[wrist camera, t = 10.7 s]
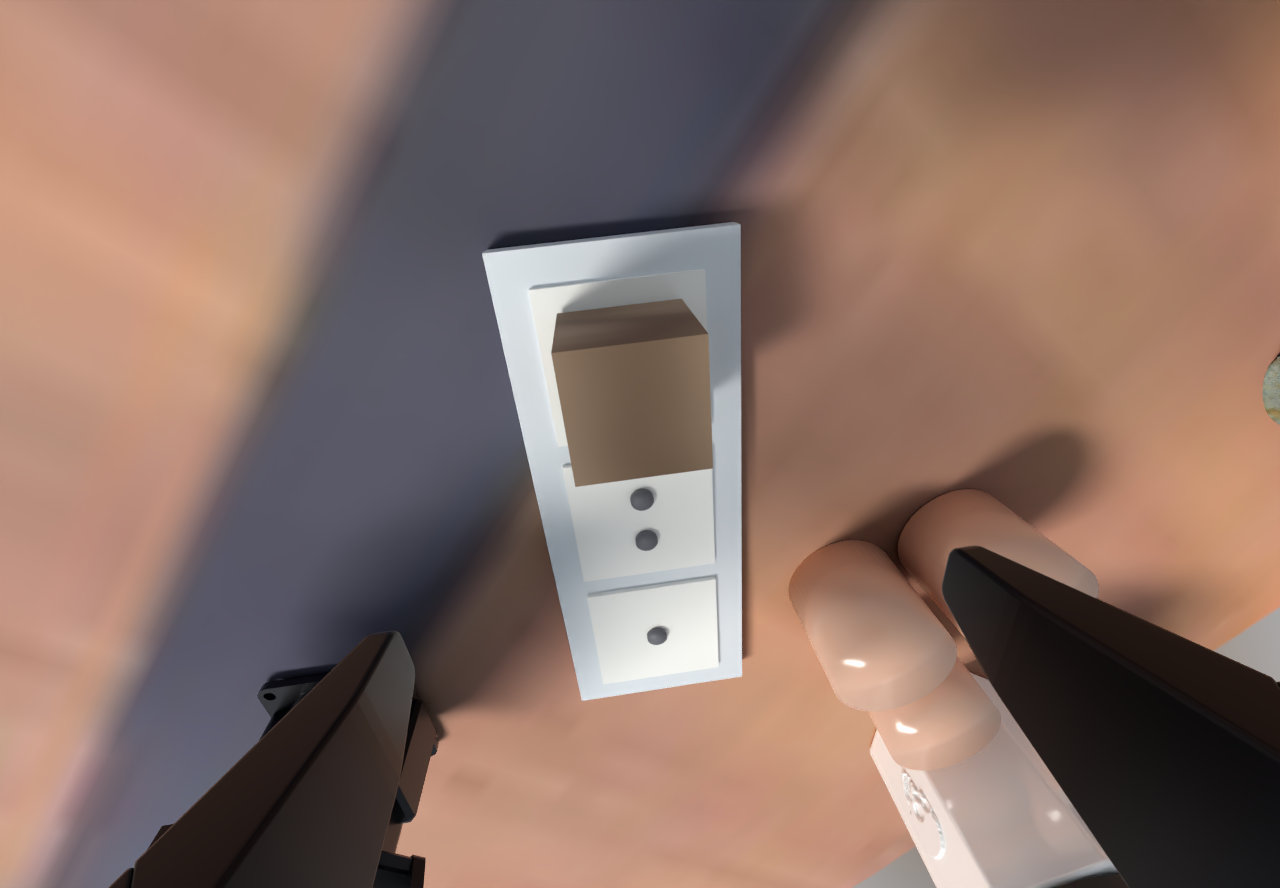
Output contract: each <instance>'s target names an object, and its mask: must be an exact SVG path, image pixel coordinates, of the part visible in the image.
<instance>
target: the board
mask: <svg viewBox="0 0 1280 888" xmlns="http://www.w3.org/2000/svg"><path fill="white" fill-rule="evenodd" d="M482 255H483V260H484V264H485V269H486V273H487V277H488V282H489V286H490V291H491V295H492V300H493V304H494V309H495V313H496V318H497V322H498V327H499V331H500V336H501V340H502V345H503V349H504V354H505V358H506V363H507V367H508V371H509V376H510V380H511V385H512V389H513V394H514V398H515V403H516V407H517V412H518V416H519V421H520V425H521V430H522V434H523V439H524V443H525V448H526V452H527V457H528V461H529V465H530V470H531V474H532V479H533V483H534V488H535V492H536V497H537V501H538V506H539V510H540V515H541V519H542V524H543V528H544V533H545V537H546V542H547V546H548V551H549V555H550V560H551V564H552V568H553V573H554V577H555V582H556V586H557V591H558V595H559V600H560V604H561V609H562V613H563V618H564V622H565V627H566V631H567V636H568V640H569V645H570V649H571V654H572V658H573V662H574V667H575V671H576V676H577V680H578V685H579V689H580V694H581V698H582V701H584V700H591V699H597V698H604V697H610V696H617V695H623V694H630V693H636V692H643V691H649V690H656V689H663V688H669V687H676V686H682V685H689V684H695V683H702V682H708V681H715V680H721V679H728V678H734V677H741V676H742V518H741V224H738V223H736V222H728V223H719V224H711V225H702V226H693V227H684V228H675V229H666V230H657V231H649V232H640V233H631V234H622V235H613V236H604V237H595V238H586V239H578V240H569V241H560V242H551V243H542V244H533V245H524V246H516V247H507V248H498V249H489V250H485V251H484V252H483V253H482ZM674 299H682V300H683V301H684V302H685V304H686V305H687V306H688V308H689V309H690V310H691V312H692V313H693V314H694V315H695V317H696V318H697V319H698V321H699V322H700V323H701V325H702V326H703V327H704V329H705V330H706V331H707V333H708V334H709V363H710V393H711V423H712V453H713V469H705V470H698V471H690V472H683V473H676V474H668V475H661V476H653V477H646V478H639V479H631V480H624V481H616V482H609V483H601V484H594V485H587V486H579V487H575V482H574V477H573V471H572V466H571V460H570V455H569V449H568V443H567V438H566V432H565V427H564V421H563V416H562V410H561V405H560V399H559V394H558V388H557V382H556V377H555V371H554V366H553V360H552V355H551V351H552V344H553V337H554V330H555V323H556V316H557V313H565V312H574V311H582V310H590V309H599V308H607V307H615V306H624V305H632V304H640V303H649V302H657V301H666V300H674Z"/></svg>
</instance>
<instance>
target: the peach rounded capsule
mask: <svg viewBox="0 0 1280 888" xmlns="http://www.w3.org/2000/svg"><path fill="white" fill-rule="evenodd" d="M789 598H790V601H791V603H792V605H793V607H794V610H795V612H796V614H797V616H798V618H799V620H800V622H801V624H802V626H803V628H804V630H805V632H806V634H807V636H808V638H809V640H810V643H811V645H812V647H813V649H814V651H815V653H816V655H817V657H818V659H819V661H820V663H821V665H822V667H823V669H824V671H825V673H826V676H827V678H828V680H829V682H830V684H831V686H832V688H833V690H834V692H835V694H836V696H837V697H838V699H839V700H840V701H841V702H843V703H844V704H845V705H847V706H849V707H851V708H854V709H857V710H862V711H886V710H891V709H896V708H899V707H903V706H905V705H908V704H911V703H913V702H915V701H917V700H919V699H921V698H923V697H924V696H926V695H927V694H929V693H931V692H932V691H933V690H934V689H936V688H937V687H938V686H939V685H940V684H941V683H942V682H943V681H944V680H945V679H946V678H947V676H948V675H949V674H950V672H951V670H952V669H953V667H954V664H955V661H956V657H957V647H956V643H955V641H954V639H953V638H952V637H951V635H950V634H949V633H948V631H947V630H946V629H945V628H944V626H943V625H942V624H941V623H940V621H939V620H938V619H937V618H936V616H935V615H934V614H933V612H932V611H931V610H930V609H929V607H928V606H927V605H926V604H925V602H924V601H923V600H922V599H921V597H920V596H919V595H918V593H917V592H916V591H915V590H914V588H913V587H912V586H911V585H910V583H909V582H908V581H907V580H906V578H905V577H904V576H903V574H902V573H901V572H900V571H899V569H898V568H897V567H896V566H895V564H894V563H893V562H892V560H891V559H890V558H889V557H888V555H887V554H886V553H885V552H884V551H883V550H882V549H881V548H880V547H878V546H877V545H875V544H872V543H870V542H866V541H860V540H847V541H841V542H836V543H833V544H830V545H827V546H825V547H823V548H821V549H819V550H817V551H816V552H814V553H812V554H811V555H810V556H808V557H807V558H806V559H805V560H804V561H803V562H802V563H801V564H800V565H799V566H798V568H797V569H796V571H795V572H794V574H793V576H792V578H791V581H790V584H789Z"/></svg>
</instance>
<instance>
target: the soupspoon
mask: <svg viewBox="0 0 1280 888" xmlns="http://www.w3.org/2000/svg"><path fill="white" fill-rule="evenodd" d="M1263 402H1264V406H1265V409H1266V411H1267V413H1268V415H1269V416H1270V417H1271V418H1272V419H1273V420H1274V421H1275V422H1276V423H1278V424H1279V425H1280V356H1279V357H1277V359H1276V360H1274V361H1273V362H1272V363H1271V364H1270V365H1269V367H1268V370H1267V372H1266V374H1265V378H1264V383H1263Z"/></svg>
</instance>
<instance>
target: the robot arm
mask: <svg viewBox="0 0 1280 888" xmlns="http://www.w3.org/2000/svg"><path fill="white" fill-rule="evenodd" d="M942 594H943V597H944V600H945V602H946V604H947V606H948V607H949V609H950V611H951V613H952V615H953V616H954V618H955V620H956V622H957V624H958V626H959V627H960V629H961V631H962V633H963V635H964V637H965V638H966V640H967V642H968V644H969V646H970V648H971V649H972V651H973V653H974V655H975V657H976V658H977V660H978V662H979V664H980V666H981V668H982V669H983V671H984V673H985V675H986V676H987V678H988V680H989V681H990V683H991V685H992V687H993V688H994V690H995V691H996V693H997V694H998V696H999V697H1000V699H1001V700H1002V702H1003V703H1004V705H1005V706H1006V708H1007V709H1008V711H1009V712H1010V714H1011V715H1012V717H1013V718H1014V720H1015V721H1016V723H1017V724H1018V725H1019V727H1020V728H1021V730H1022V731H1023V733H1024V734H1025V736H1026V737H1027V739H1028V740H1029V742H1030V743H1031V745H1032V746H1033V748H1034V749H1035V750H1036V752H1037V753H1038V755H1039V756H1040V758H1041V759H1042V761H1043V762H1044V764H1045V765H1046V767H1047V768H1048V770H1049V771H1050V773H1051V774H1052V776H1053V777H1054V778H1055V780H1056V781H1057V783H1058V784H1059V786H1060V787H1061V789H1062V790H1063V792H1064V793H1065V795H1066V796H1067V798H1068V799H1069V801H1070V802H1071V803H1072V805H1073V806H1074V808H1075V809H1076V811H1077V812H1078V814H1079V815H1080V817H1081V818H1082V820H1083V821H1084V823H1085V824H1086V826H1087V827H1088V829H1089V830H1090V831H1091V833H1092V834H1093V836H1094V837H1095V839H1096V840H1097V842H1098V843H1099V845H1100V846H1101V848H1102V849H1103V851H1104V852H1105V854H1106V855H1107V856H1108V858H1109V859H1110V861H1111V862H1112V864H1113V865H1114V867H1115V868H1116V870H1117V871H1118V873H1119V874H1120V876H1121V877H1122V879H1123V880H1124V882H1125V883H1126V884H1127V886H1128V887H1129V888H1280V682H1276V681H1275V680H1274V679H1273V678H1272V677H1270V676H1267V675H1265V674H1263V673H1261V672H1259V671H1256V670H1254V669H1252V668H1250V667H1247V666H1245V665H1243V664H1241V663H1239V662H1236V661H1234V660H1232V659H1229V658H1228V657H1225V656H1223V655H1221V654H1219V653H1216V652H1214V651H1212V650H1210V649H1208V648H1205V647H1203V646H1201V645H1199V644H1197V643H1194V642H1192V641H1190V640H1188V639H1185V638H1183V637H1181V636H1179V635H1177V634H1174V633H1172V632H1170V631H1168V630H1166V629H1163V628H1161V627H1159V626H1157V625H1154V624H1152V623H1150V622H1148V621H1146V620H1143V619H1141V618H1139V617H1137V616H1134V615H1132V614H1130V613H1128V612H1126V611H1123V610H1121V609H1119V608H1117V607H1115V606H1112V605H1110V604H1108V603H1106V602H1103V601H1101V600H1099V599H1097V598H1095V597H1092V596H1090V595H1088V594H1086V593H1083V592H1081V591H1079V590H1077V589H1075V588H1072V587H1070V586H1068V585H1066V584H1064V583H1061V582H1059V581H1057V580H1055V579H1052V578H1050V577H1048V576H1046V575H1044V574H1041V573H1039V572H1037V571H1035V570H1032V569H1030V568H1028V567H1026V566H1024V565H1021V564H1019V563H1017V562H1015V561H1013V560H1010V559H1008V558H1006V557H1004V556H1001V555H999V554H997V553H995V552H993V551H990V550H988V549H986V548H984V547H981V546H975V545H973V546H966V547H959V548H955V549H953V550H952V551H951V552H950V553H949V556H948V560H947V564H946V568H945V573H944V577H943V581H942ZM414 682H415V668H414V664H413V662H412V659H411V657H410V655H409V652H408V650H407V648H406V646H405V643H404V641H403V639H402V636H401V635H400V633H399V632H397V631H395V630H390V631H383V632H377V633H372V634H369V635H368V636H367V637H365V638H364V639H363V640H362V641H361V642H360V643H359V644H358V645H357V646H356V647H355V648H354V649H353V650H352V651H351V652H350V653H349V654H348V655H347V656H346V657H345V658H344V659H343V660H342V661H341V662H340V663H339V664H338V665H337V666H335V667H334V668H333V669H332V670H331V671H330V672H329V673H326V674H319V675H313V676H306V677H299V678H292V679H286V680H279V681H272V682H267V683H265V684H264V685H263V686H262V688H261V689H260V691H259V693H258V695H257V696H258V698H259V700H260V701H261V703H262V704H263V706H264V707H265V709H266V710H267V712H268V713H269V715H270V716H271V720H270V722H269V723H268V725H267V727H266V729H265V731H264V733H263V734H262V736H261V738H260V740H259V742H258V743H257V744H256V745H254V746H253V747H252V748H251V749H250V750H249V751H248V752H247V753H246V754H245V755H244V756H243V757H242V758H241V759H240V760H239V761H238V762H237V763H236V764H235V765H234V766H233V767H232V768H231V769H230V770H229V771H228V772H227V773H226V774H225V775H224V776H223V777H222V778H221V779H220V780H219V781H218V782H217V783H216V784H214V785H213V786H212V787H211V788H210V789H209V790H208V791H207V792H206V793H205V794H204V795H203V796H202V797H201V798H200V799H199V800H198V801H197V802H196V803H195V804H194V805H193V806H192V807H191V808H190V809H189V810H188V811H187V812H186V813H185V814H184V815H183V816H182V817H181V818H180V819H179V820H178V821H177V822H176V823H175V824H171V825H165V826H162V827H161V829H160V830H159V832H158V833H157V835H156V837H155V838H154V840H153V841H152V843H151V845H150V846H149V848H148V849H147V851H146V852H145V853H144V854H143V855H142V856H141V857H140V858H139V859H138V860H137V861H136V862H135V865H134V868H129V869H127V870H126V871H125V872H124V873H123V874H122V875H121V876H120V877H119V878H118V879H117V880H116V881H115V882H114V883H113V884H112V885H111V886H110V887H109V888H423V885H424V872H425V858H424V857H420V856H416V855H412V856H411V857H408V856H404V855H400V854H395V852H396V848H397V844H398V840H399V836H400V833H401V829H402V825H403V823H408V822H411V821H412V820H413V818H414V817H415V816H416V813H417V809H418V805H419V801H420V797H421V793H422V789H423V785H424V781H425V777H426V773H427V769H428V765H429V761H430V757H431V756H433V755H435V754H436V752H437V748H438V740H437V738H436V730H435V728H434V726H433V724H432V721H431V719H430V717H429V715H428V712H427V710H426V708H425V706H424V703H423V702H422V701H421V700H420V699H419V697H418V695H417V693H416V691H415V688H414Z"/></svg>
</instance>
